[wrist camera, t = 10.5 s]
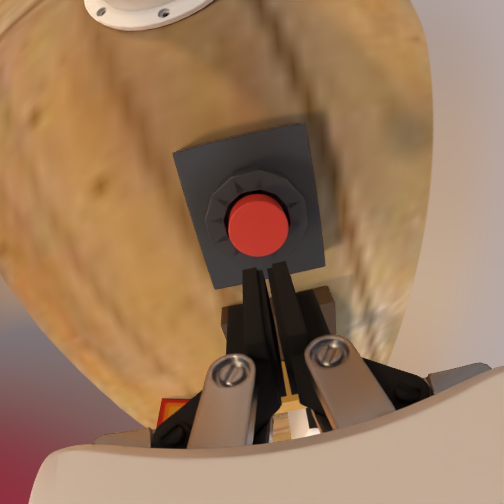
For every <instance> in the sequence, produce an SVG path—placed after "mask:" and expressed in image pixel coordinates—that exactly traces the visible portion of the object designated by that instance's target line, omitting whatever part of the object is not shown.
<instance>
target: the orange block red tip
mask: <svg viewBox="0 0 504 504" xmlns="http://www.w3.org/2000/svg"><path fill="white" fill-rule="evenodd" d="M281 363H282V369H283V375H284V381H285V388H286V394H287V396H285V397H281V400H282V406H281V408H280V409H279V410H278V411H277V412H276V413H275V414H278V413H284V412H290V411H295V410H300V409H304V408H307V407H305V406H303V405H301V404H300V402H299V397H298V394H295V395H292V394H291V389H290V385H289V380H288V376H287V371H286V367H285V362H284V361H282V362H281Z"/></svg>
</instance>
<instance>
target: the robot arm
mask: <svg viewBox="0 0 504 504" xmlns="http://www.w3.org/2000/svg"><path fill="white" fill-rule="evenodd" d="M212 1H214V0H84V3H85V7H86V9H87V11H88V12H89V14H90V15H91V16H92V17H93V18H94V19H95V20H96V21H98V22H100V23H102V24H103V25H105V26H108V27H111V28H114V29H118V30H125V31H137V30H147V29H152V28H158V27H161V26H164V25H168V24H171V23H174V22H176V21H179V20H181V19H184V18H186V17H188V16H190V15H192V14H194V13H195V12H197V11H199V10H201V9H202V8H204V7H205V6H207V5H208V4H209V3H211V2H212ZM167 14H169V15H168V16H166V17H164V16H165V15H167ZM267 272H268V277H269V283H270V288H271V294H272V300H273V305H274V311H275V317H276V322H277V328H278V334H279V339H280V344H281V348H282V353H283V357H284V362H285V367H286V371H287V376H288V380H289V385H290V389H291V394H292V395H295V394H298V397H299V402H300V404H301V405H303V406H305V407H307V408H310V409H311V411H312V415H313V417H314V419H315V422H316V424H317V427H318V429H319V431H320V434H316V435H312V436H307V437H302V438H297V439H291V440H285V441H279V442H273V443H272V435H273V422H274V420H273V415H274V414H275V413H276V412H277V411H278V410H279V409H280V408H281V406H282V400H281V397H285V396H287V394H286V388H285V381H284V375H283V369H282V363H281V357H280V350H279V344H278V338H277V332H276V327H275V322H274V317H273V313H272V309H271V304H270V300H269V295H268V291H267V287H266V282H265V278H264V274H263V270H258V271H257V268H256V267H254V268H249V269H245V270H242V283H243V304H239V305H234V306H229V307H228V320H227V345H226V355H225V356H222V357H220V358H219V359H217V360H216V361H214V362H213V363H212V365H211V366H210V367H209V370H208V372H207V375H206V379H205V382H204V386H203V390H202V391H201V392H199V393H198V394H197V395H196V396H195V397H193V398H192V399H191V400H190V401H188V402H187V403H186V404H185V405H184V406H182V407H181V408H180V409H179V410H177V411H176V412H175V413H174V414H172V415H171V416H170V417H169V418H167V419H166V420H165V421H164V422H162V423H161V424H160V425H159V426H158V427H157V428H156V429H154V430H152V429H151V428H150V427H149V428H144V429H139V430H133V431H126V432H119V433H112V434H105V435H101V436H99V437H98V438H96V439H95V440H94V442H93V443H92V444H86V445H77V446H71V447H67V448H63V449H60V450H57V451H55V452H53V453H51V454H50V455H49V456H47V458H46V459H45V460H44V462H43V463H42V465H41V467H40V469H39V472H38V474H37V477H36V479H35V483H34V485H33V489H32V493H31V496H30V500H29V504H504V366H501V367H497V368H494V369H492V368H490V367H489V366H488V365H487V364H483V363H474V364H470V365H466V366H462V367H459V368H454V369H450V370H446V371H441V372H437V373H432V374H429V375H428V377H426V378H421V377H419V376H417V375H414V374H411V373H408V372H405V371H401V370H398V369H395V368H392V367H389V366H386V365H383V364H380V363H377V362H374V361H371V360H368V359H365V358H362V357H361V356H360V354H359V353H358V352H357V350H356V349H355V347H354V346H353V344H352V343H351V342H350V341H349V340H348V339H347V338H345V337H343V336H340V335H335V334H330V331H329V329H328V326H327V324H326V321H325V318H324V316H323V313H322V311H321V308H320V306H319V303H318V301H317V298H316V295H315V293H314V291H313V289H311V290H306V291H302V292H297V293H295V290H294V286H293V283H292V280H291V277H290V273H289V270H288V267H287V264H286V261H282V262H278V263H273V264H272V268H267Z"/></svg>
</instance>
